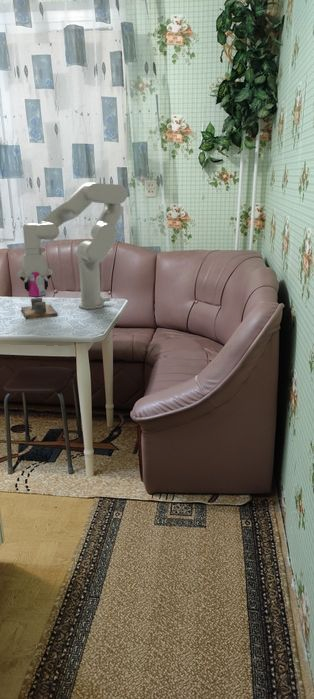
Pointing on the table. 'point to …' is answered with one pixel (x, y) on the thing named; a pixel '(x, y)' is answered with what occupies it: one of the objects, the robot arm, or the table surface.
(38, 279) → the supplement box
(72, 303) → the table surface
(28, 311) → the hinge board
